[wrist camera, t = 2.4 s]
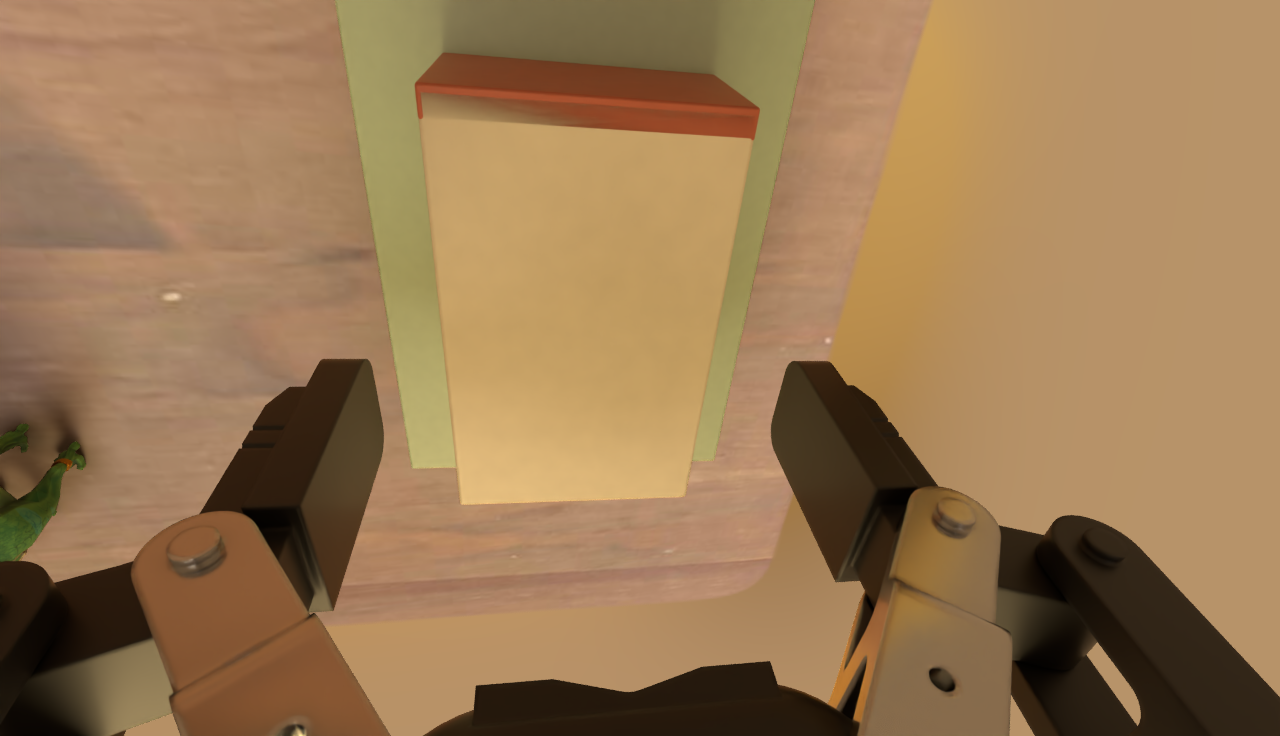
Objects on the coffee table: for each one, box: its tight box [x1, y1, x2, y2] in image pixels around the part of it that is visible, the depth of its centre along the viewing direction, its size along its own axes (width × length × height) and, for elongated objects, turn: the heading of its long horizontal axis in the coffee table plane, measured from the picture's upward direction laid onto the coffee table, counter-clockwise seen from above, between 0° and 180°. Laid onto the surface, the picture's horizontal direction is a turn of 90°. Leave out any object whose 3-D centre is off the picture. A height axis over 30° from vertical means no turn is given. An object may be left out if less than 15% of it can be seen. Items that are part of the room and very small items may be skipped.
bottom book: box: [335, 0, 815, 468], centre depth 17 cm, size 14×10×4 cm
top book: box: [414, 53, 760, 505], centre depth 15 cm, size 10×6×4 cm, turn 175°
